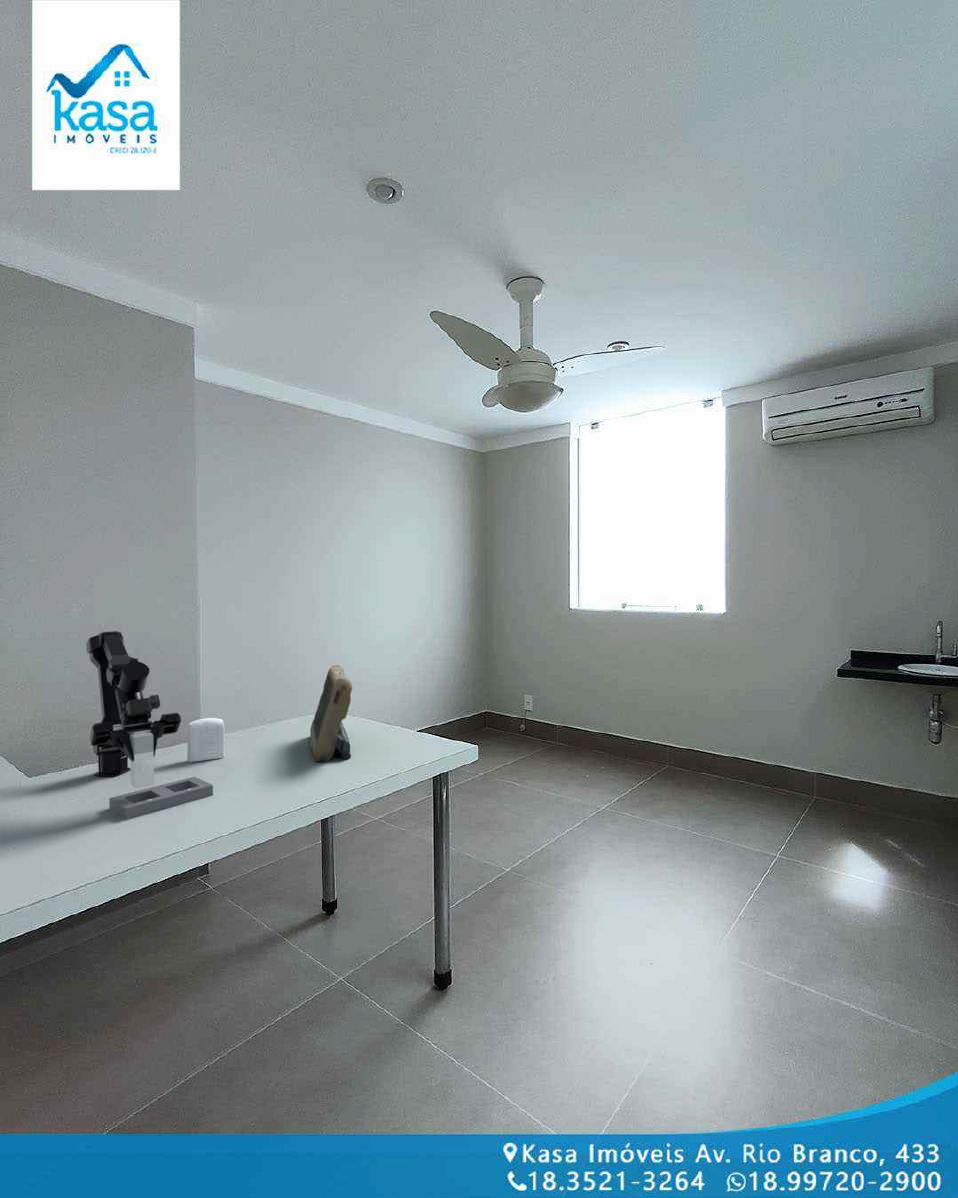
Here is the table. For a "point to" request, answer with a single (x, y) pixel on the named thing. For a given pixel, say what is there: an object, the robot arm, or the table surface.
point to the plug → (142, 759)
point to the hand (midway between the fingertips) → (143, 758)
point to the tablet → (331, 717)
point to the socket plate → (160, 797)
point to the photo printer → (205, 739)
